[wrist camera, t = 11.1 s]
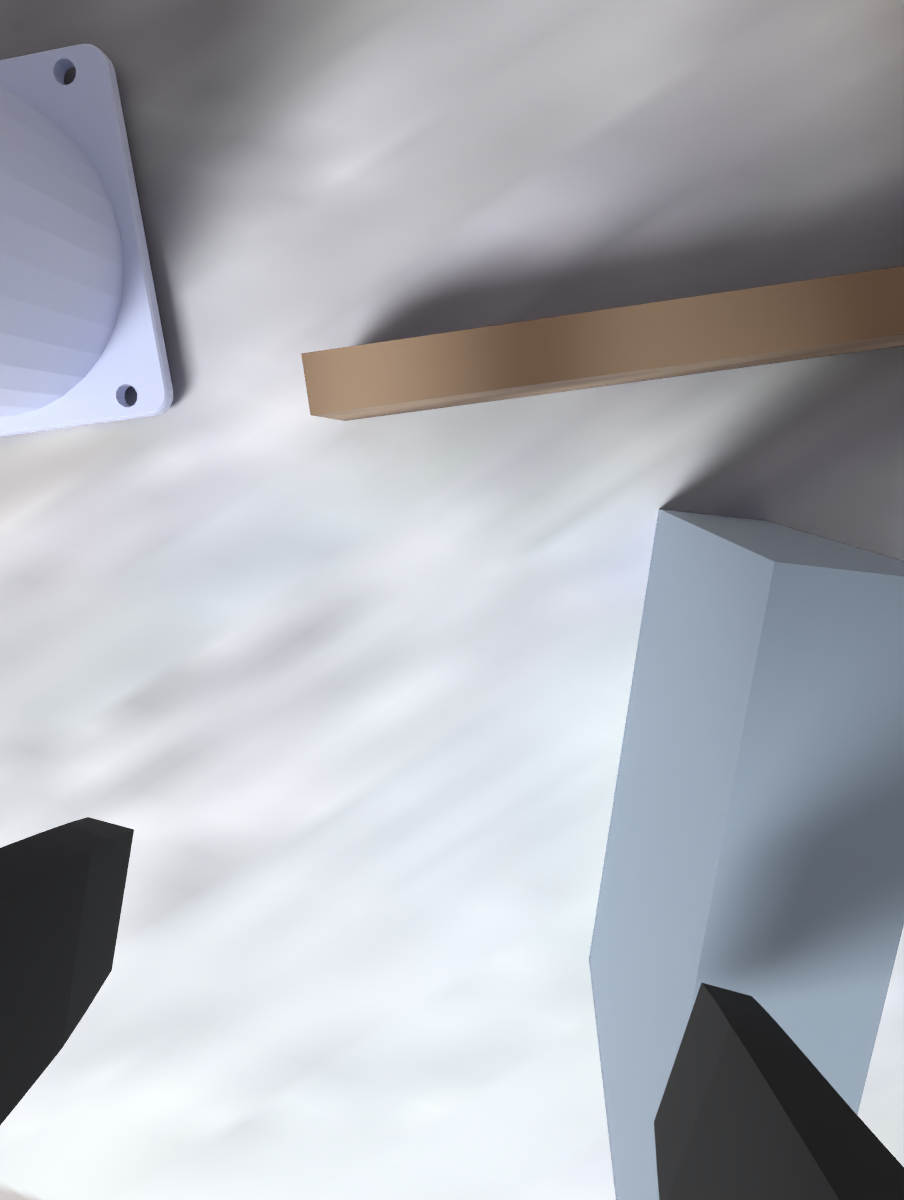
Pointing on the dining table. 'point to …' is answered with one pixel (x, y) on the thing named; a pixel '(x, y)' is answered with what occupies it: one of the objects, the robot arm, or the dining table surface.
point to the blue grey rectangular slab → (752, 810)
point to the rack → (610, 346)
